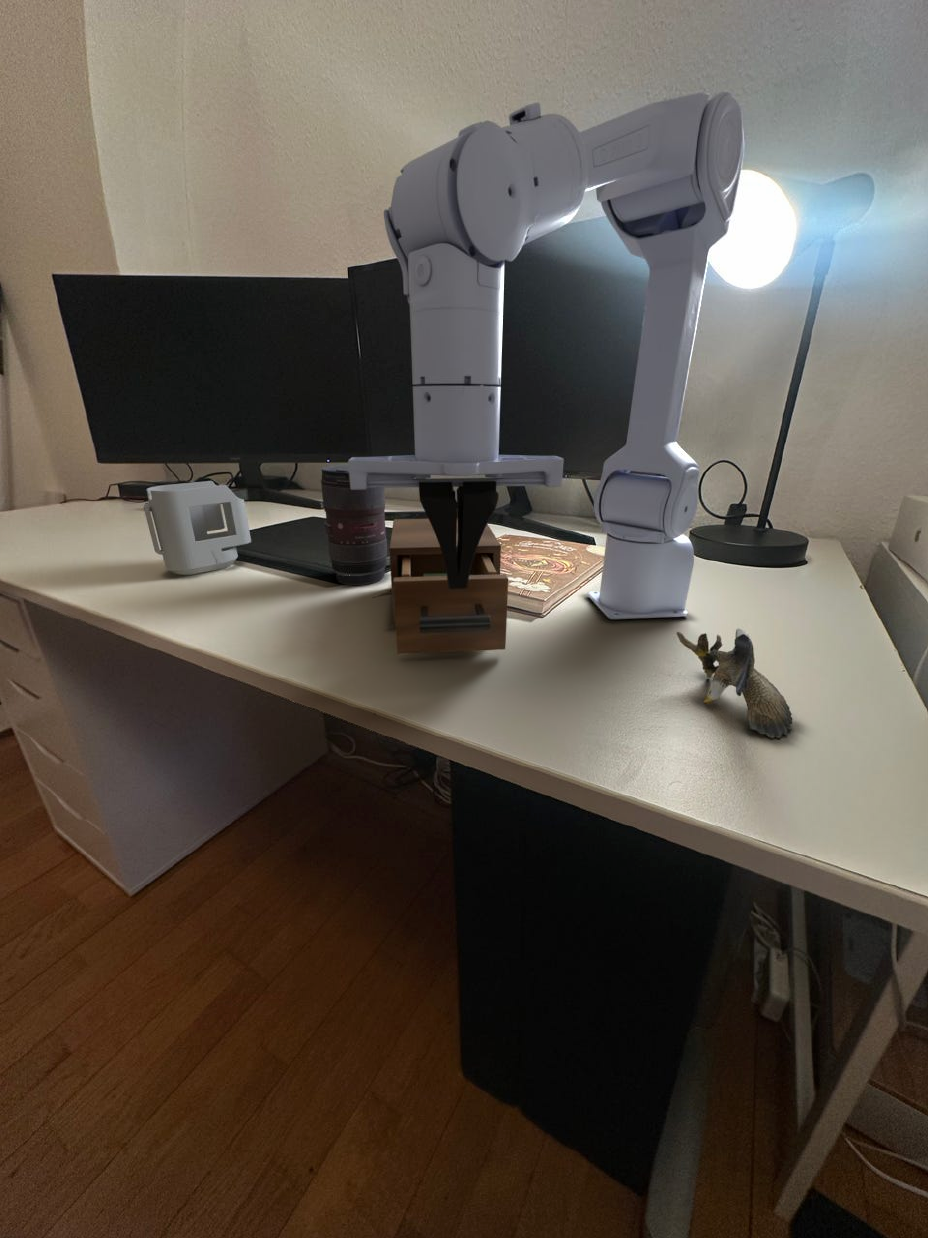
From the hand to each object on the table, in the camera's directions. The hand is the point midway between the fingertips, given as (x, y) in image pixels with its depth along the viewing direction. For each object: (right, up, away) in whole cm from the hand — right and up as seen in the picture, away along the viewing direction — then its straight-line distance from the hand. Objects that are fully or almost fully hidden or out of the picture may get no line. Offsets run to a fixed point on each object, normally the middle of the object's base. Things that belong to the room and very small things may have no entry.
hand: (457, 584), depth 37 cm
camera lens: (-14, +3, +32) cm, 35 cm away
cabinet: (-2, -1, +23) cm, 23 cm away
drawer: (-1, -4, +13) cm, 14 cm away
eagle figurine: (+23, -10, +3) cm, 25 cm away
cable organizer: (-37, +5, +37) cm, 52 cm away
